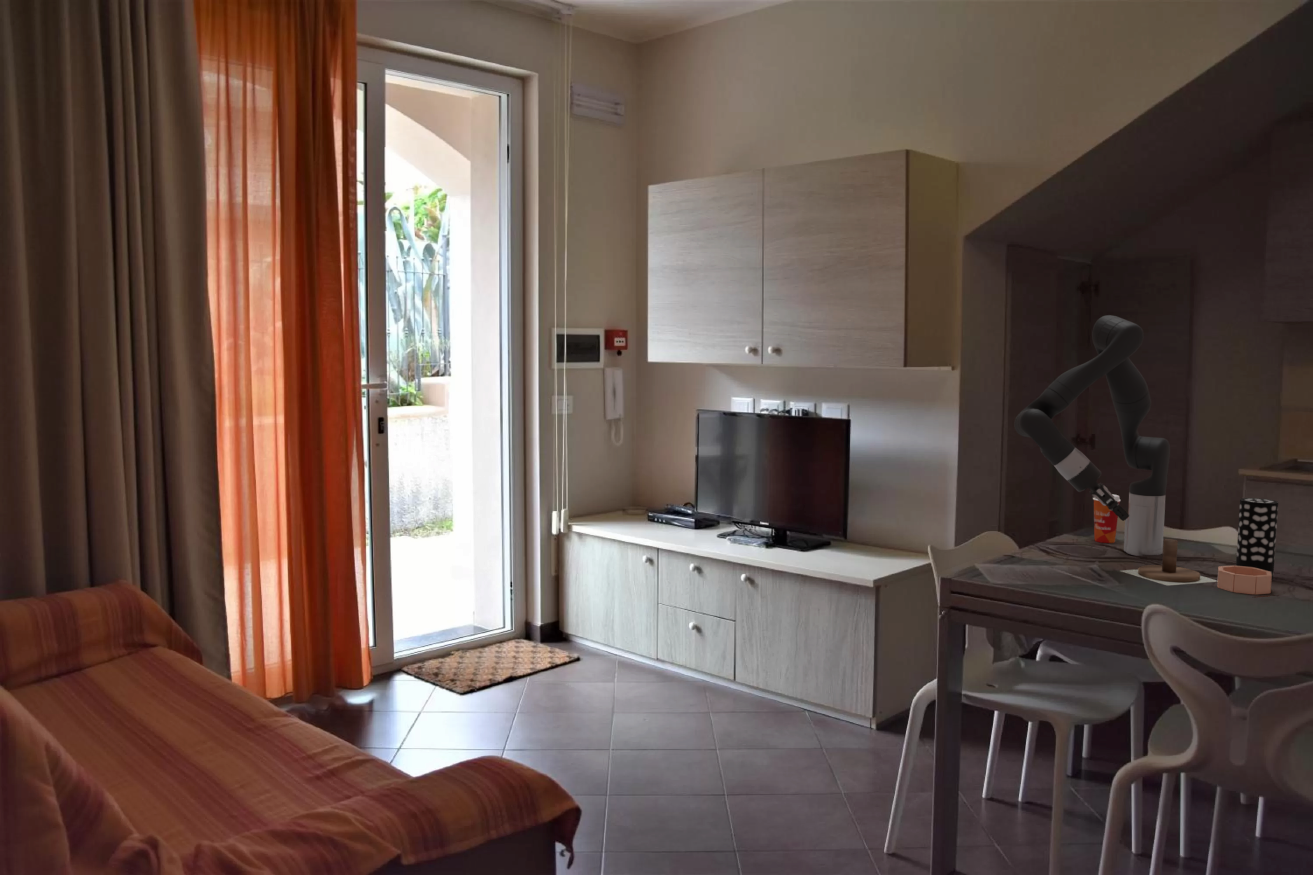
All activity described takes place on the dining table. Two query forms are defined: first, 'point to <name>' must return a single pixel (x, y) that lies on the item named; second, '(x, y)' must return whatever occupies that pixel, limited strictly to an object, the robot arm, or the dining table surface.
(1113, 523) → the paper cup
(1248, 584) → the terracotta bowl
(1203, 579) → the rubber mat
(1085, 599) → the dining table surface
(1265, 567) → the spotted tube
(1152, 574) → the walnut lid
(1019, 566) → the dining table surface
